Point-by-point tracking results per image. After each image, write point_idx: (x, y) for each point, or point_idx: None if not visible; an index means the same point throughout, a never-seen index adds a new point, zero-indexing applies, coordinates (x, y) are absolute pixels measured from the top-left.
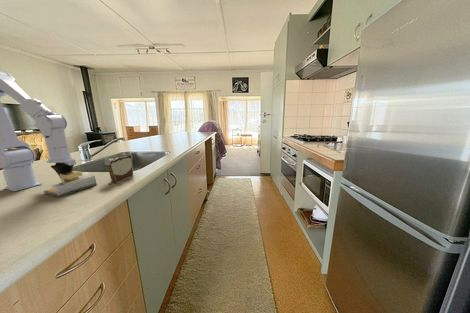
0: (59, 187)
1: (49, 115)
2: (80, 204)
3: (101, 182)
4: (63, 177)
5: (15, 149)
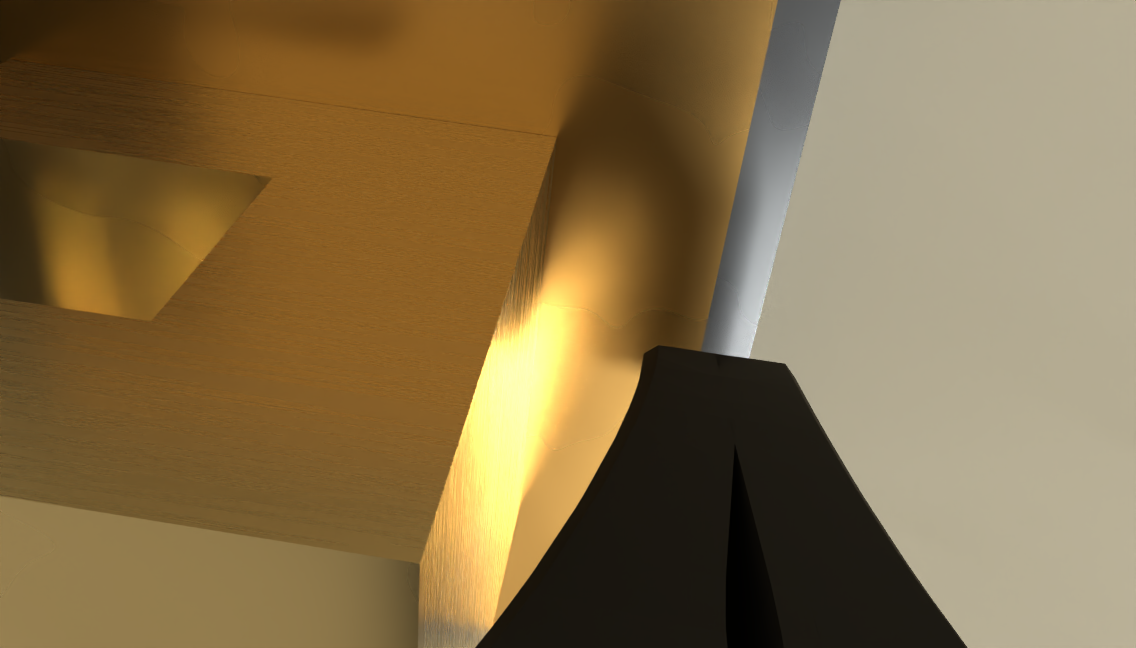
0: None
1: None
2: None
3: None
4: (116, 360)
5: None
